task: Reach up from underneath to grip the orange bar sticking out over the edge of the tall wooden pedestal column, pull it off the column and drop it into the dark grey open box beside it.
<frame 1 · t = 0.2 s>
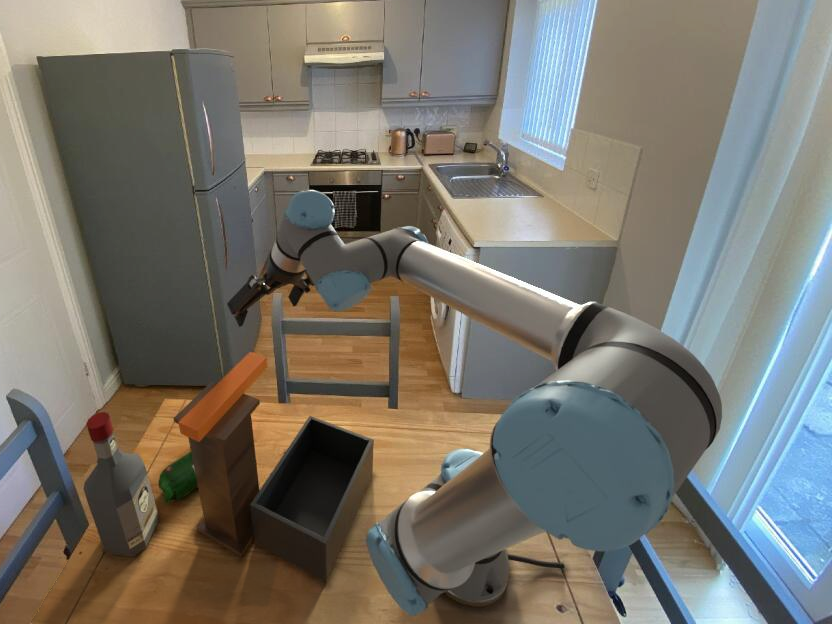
hand: (266, 310, 94), 35 cm above the table, tool tilted 35°, fingers open, 13 cm apart
liquor: (132, 533, 84), on the table
snack package: (195, 478, 95), on the table
orange bar: (228, 397, 76), point 30 cm above the table, touching wooden pedestal column
dark grey open box: (317, 506, 88), on the table
wooden pedestal column: (234, 520, 85), on the table
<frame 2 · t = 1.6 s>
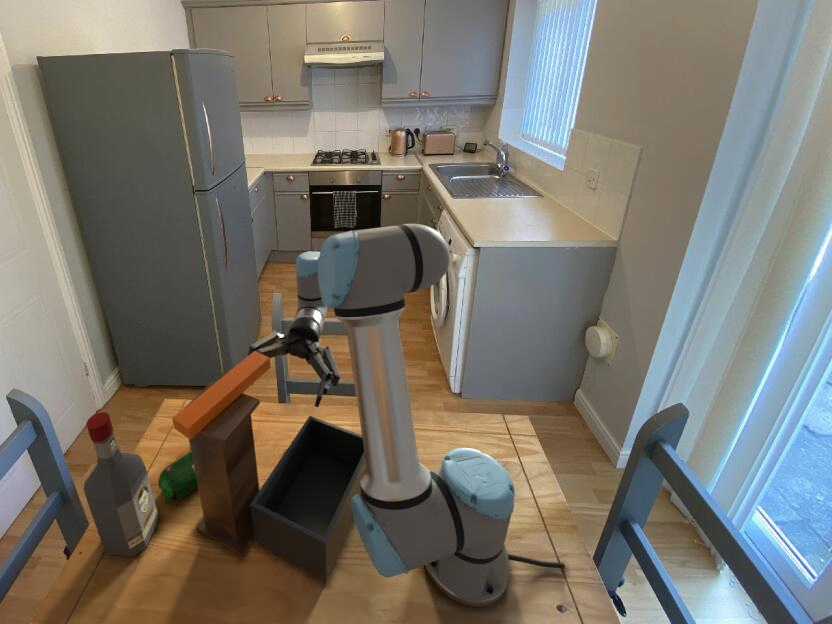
hand: (285, 390, 82), 27 cm above the table, tool horizontal, fingers open, 13 cm apart
orange bar: (226, 395, 76), point 30 cm above the table, touching gripper
everything else where it was.
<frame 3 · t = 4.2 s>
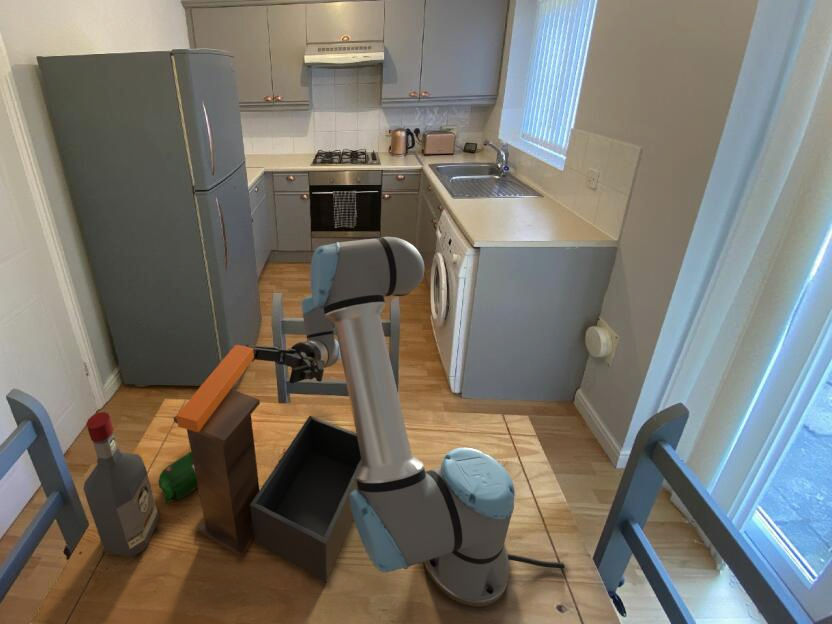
hand: (263, 366, 86), 28 cm above the table, tool pointing upward, fingers open, 13 cm apart
orange bar: (220, 388, 78), point 30 cm above the table, touching wooden pedestal column
everything else where it was.
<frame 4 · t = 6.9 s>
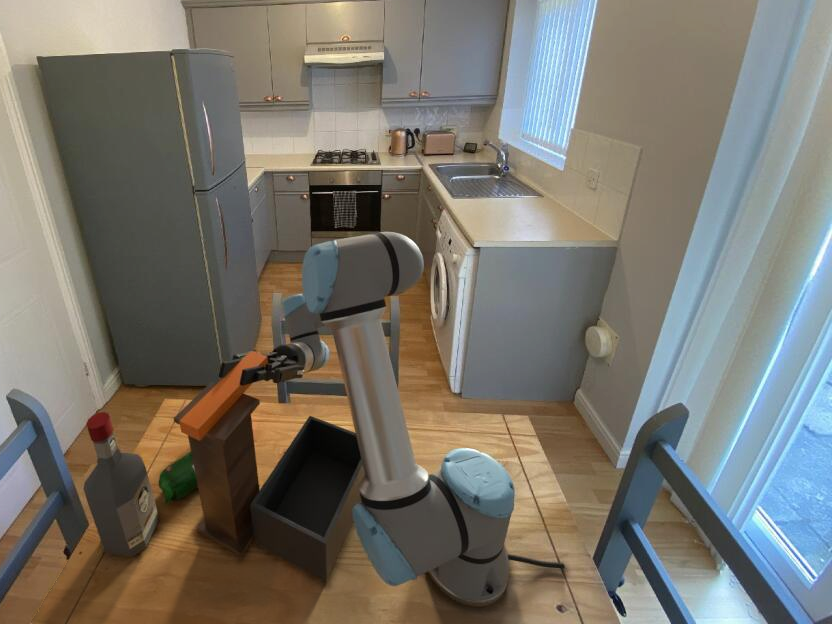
hand: (232, 373, 76), 34 cm above the table, tool pointing upward, fingers closed on orange bar, 4 cm apart
orange bar: (228, 396, 77), point 30 cm above the table, touching gripper, wooden pedestal column
everything else where it was.
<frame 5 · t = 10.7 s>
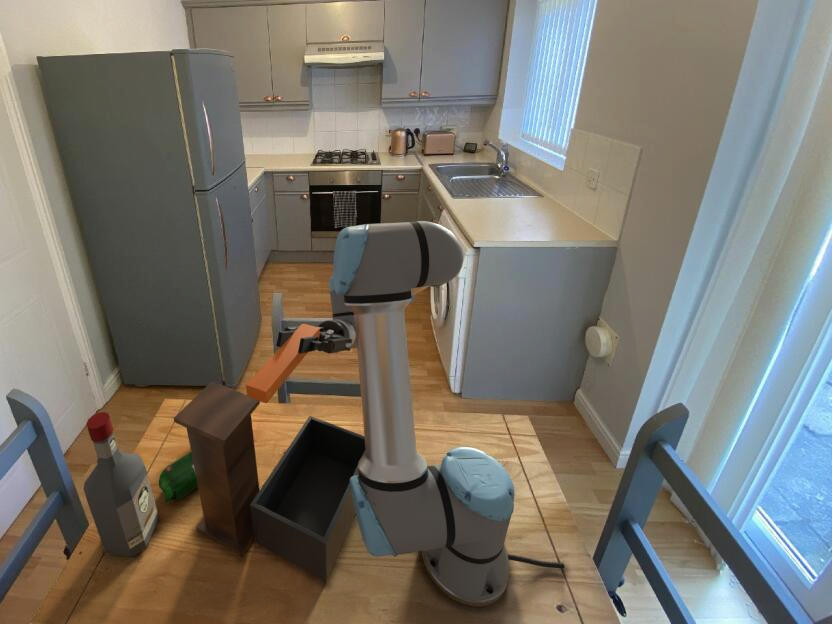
hand: (290, 342, 79), 38 cm above the table, tool pointing upward, fingers closed on orange bar, 4 cm apart
orange bar: (286, 364, 79), point 34 cm above the table, touching gripper
everything else where it was.
when the fingers open (24 cm above the table, at t = 14.7 s): orange bar drops 19 cm, resting on dark grey open box.
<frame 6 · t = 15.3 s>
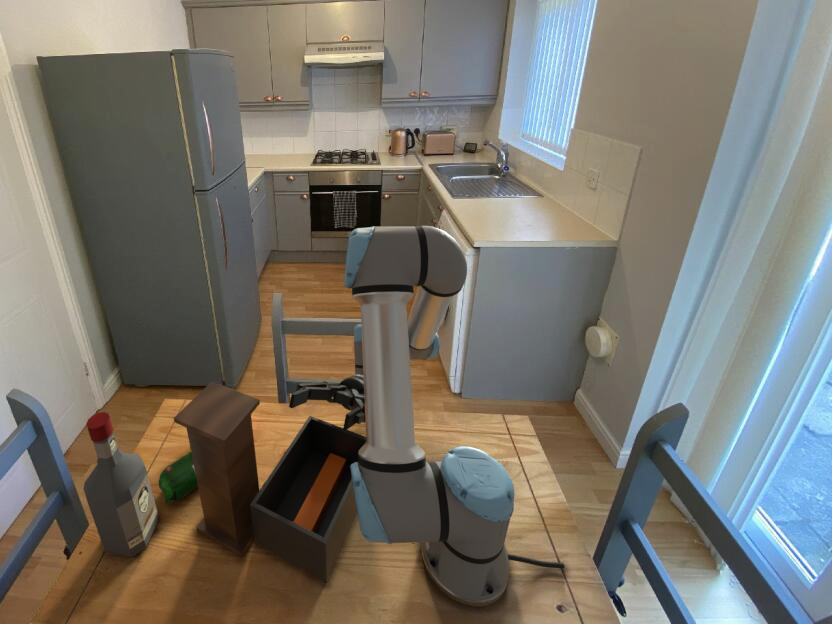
hand: (318, 411, 82), 23 cm above the table, tool pointing upward, fingers open, 11 cm apart
orange bar: (319, 501, 88), point 1 cm above the table, touching dark grey open box
everything else where it was.
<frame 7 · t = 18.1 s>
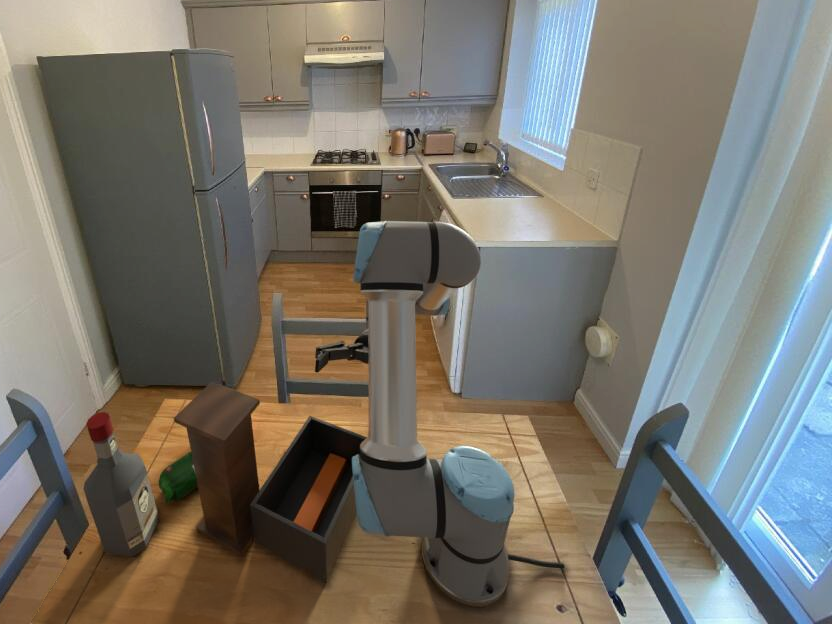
hand: (347, 373, 87), 26 cm above the table, tool pointing upward, fingers open, 13 cm apart
nothing on the table moved.
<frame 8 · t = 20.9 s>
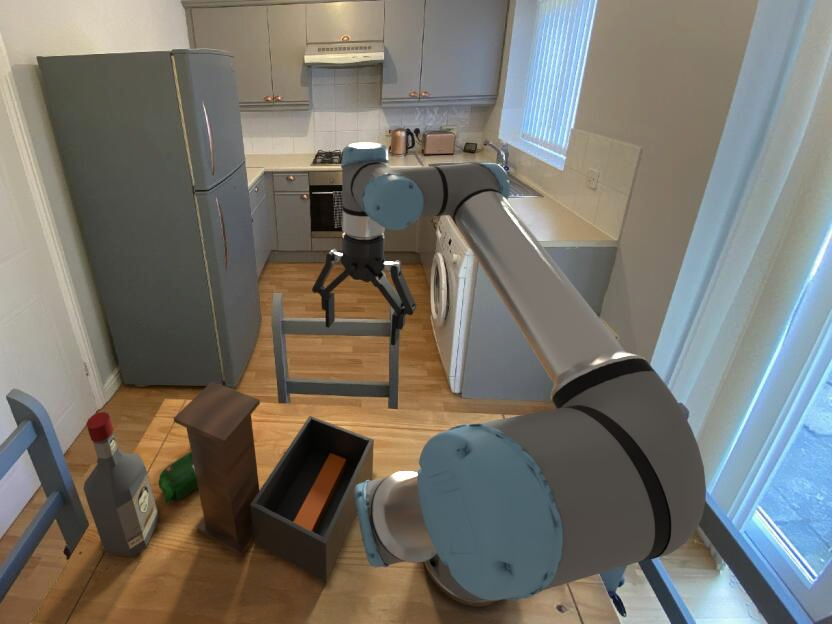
hand: (361, 332, 83), 37 cm above the table, tool pointing down, fingers open, 13 cm apart
nothing on the table moved.
at the end: orange bar inside the target area in the dark grey open box (0.5 cm from its centre), point 1.0 cm above the dark grey open box's base; the gripper is holding nothing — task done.
